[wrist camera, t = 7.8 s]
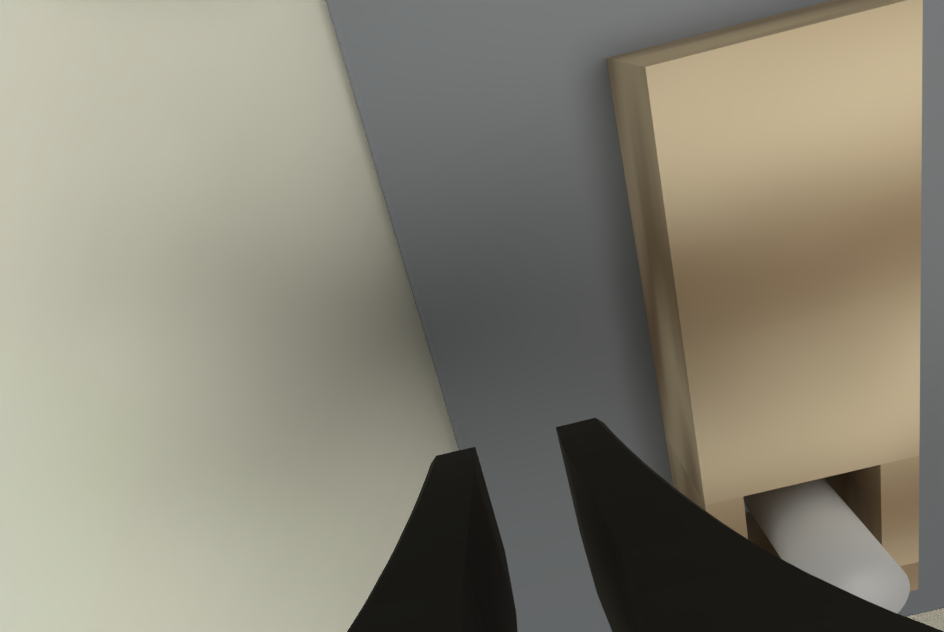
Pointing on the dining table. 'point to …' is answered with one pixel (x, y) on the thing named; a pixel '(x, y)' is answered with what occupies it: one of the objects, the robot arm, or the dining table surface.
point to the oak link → (784, 256)
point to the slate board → (583, 271)
